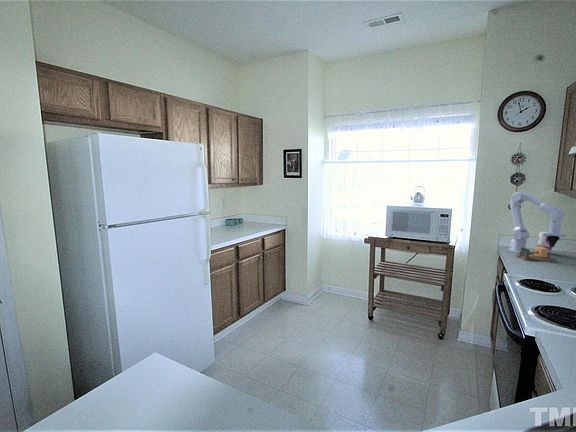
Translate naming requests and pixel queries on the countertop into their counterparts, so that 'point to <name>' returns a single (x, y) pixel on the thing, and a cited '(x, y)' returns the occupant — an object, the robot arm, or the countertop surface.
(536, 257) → the rail stand
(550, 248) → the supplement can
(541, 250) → the sleeve
